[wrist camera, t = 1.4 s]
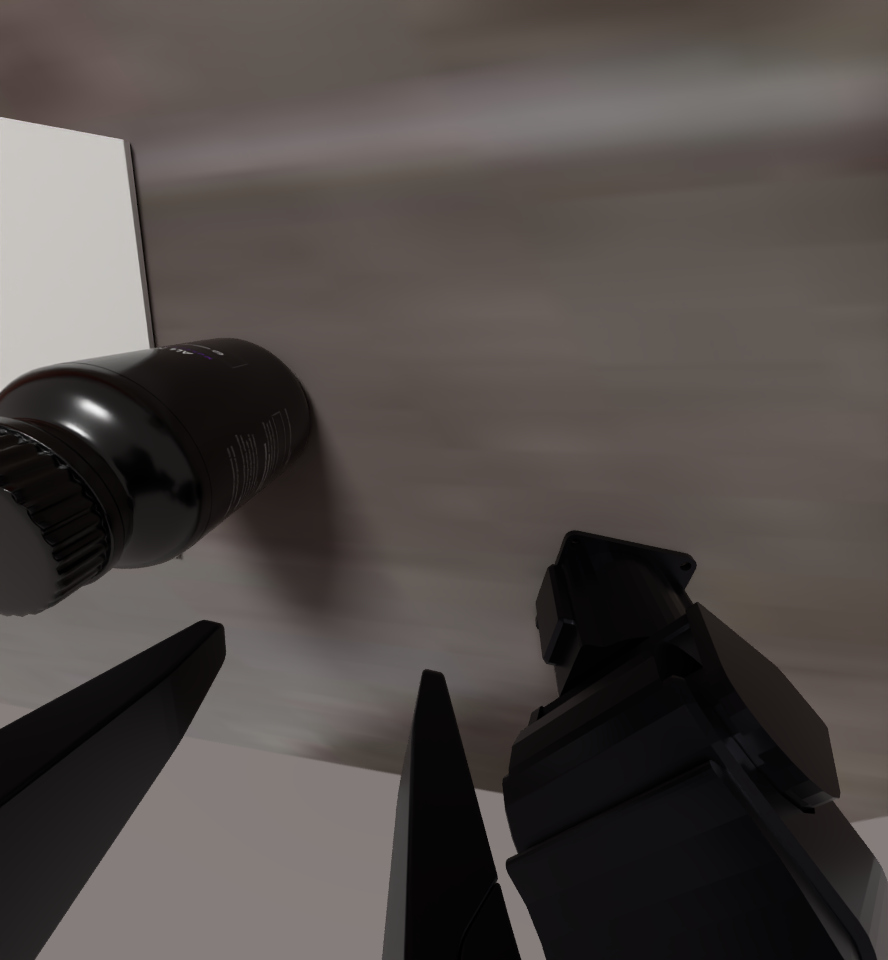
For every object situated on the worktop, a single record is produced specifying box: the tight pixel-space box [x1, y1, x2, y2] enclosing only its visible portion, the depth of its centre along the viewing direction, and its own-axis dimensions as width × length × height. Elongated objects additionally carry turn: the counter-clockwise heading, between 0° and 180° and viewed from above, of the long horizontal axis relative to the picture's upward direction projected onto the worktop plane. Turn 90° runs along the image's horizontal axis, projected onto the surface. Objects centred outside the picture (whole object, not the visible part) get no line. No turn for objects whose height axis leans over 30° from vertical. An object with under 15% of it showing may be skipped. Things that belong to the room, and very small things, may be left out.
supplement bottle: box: [0, 338, 310, 617], centre depth 15 cm, size 7×7×12 cm
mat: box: [0, 117, 178, 558], centre depth 21 cm, size 14×20×1 cm
